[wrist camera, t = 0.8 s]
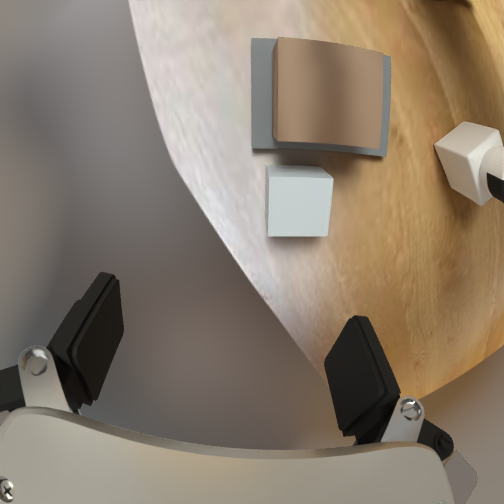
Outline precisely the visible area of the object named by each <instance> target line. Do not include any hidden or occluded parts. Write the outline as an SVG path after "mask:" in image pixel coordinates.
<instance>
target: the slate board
mask: <svg viewBox="0 0 504 504" xmlns="http://www.w3.org/2000/svg"><path fill="white" fill-rule="evenodd" d="M276 41H277V39H267V38H251V65H252V148H267V149H303V150H321V151H335V152H347V153H357V154H366V155H375V156H383V157H386V154H387V144H388V132H389V118H390V98H391V57H390V56H386V55H383V104H382V123H381V136H380V148H379V149H375V148H367V147H358V146H349V145H338V144H326V143H311V142H289V141H277V140H276V139H275V138H274V136H273V135H272V50H273V48H274V45H275V43H276Z"/></svg>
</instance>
